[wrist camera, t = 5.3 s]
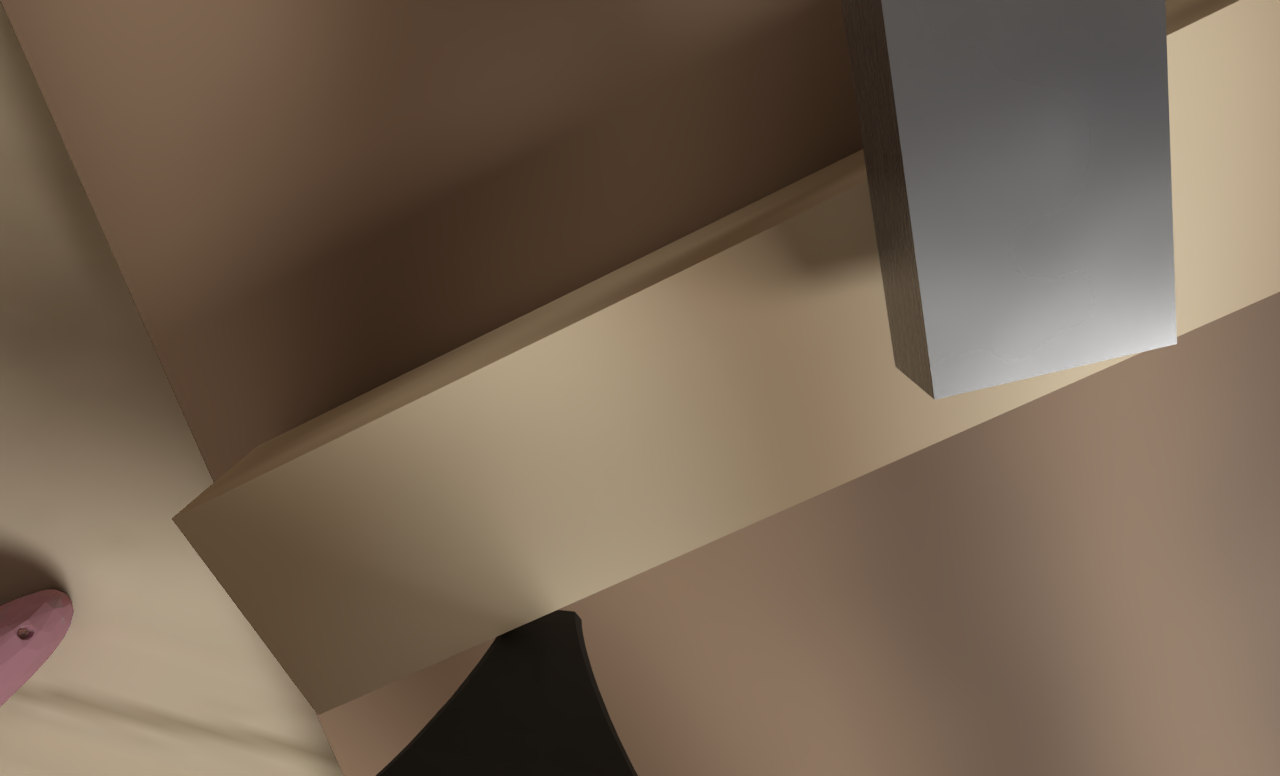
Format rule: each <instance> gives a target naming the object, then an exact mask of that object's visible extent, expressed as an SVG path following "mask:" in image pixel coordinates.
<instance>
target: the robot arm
mask: <svg viewBox="0 0 1280 776" xmlns="http://www.w3.org/2000/svg"><path fill="white" fill-rule="evenodd" d="M376 776H638V775H637V773H636V771H635V769H634V767H633V765H632V763H631V761H630V759H629V757H628V755H627V753H626V751H625V749H624V747H623V745H622V743H621V741H620V739H619V737H618V734H617V732H616V730H615V728H614V725H613V723H612V721H611V719H610V716H609V714H608V711H607V708H606V706H605V703H604V701H603V698H602V696H601V693H600V691H599V688H598V685H597V682H596V680H595V677H594V674H593V671H592V667H591V664H590V661H589V657H588V654H587V650H586V646H585V641H584V637H583V630H582V619H581V618H580V617H579V616H578V615H577V613H576V612H575V611H564V610H556V611H554V612H551V613H549V614H547V615H545V616H542V617H540V618H538V619H536V620H533V621H531V622H529V623H526V624H524V625H522V626H520V627H517V628H515V629H513V630H511V631H508V632H506V633H504V634H501V635H499V636H497V637H496V638H495V640H494V641H493V643H492V644H491V646H490V647H489V649H488V650H487V651H486V653H485V654H484V656H483V657H482V658H481V660H480V661H479V663H478V664H477V665H476V666H475V668H474V669H473V670H472V671H471V673H470V674H469V675H468V677H467V678H466V679H465V680H464V682H463V683H462V684H461V685H460V687H459V688H458V689H457V690H456V692H455V693H454V694H453V695H452V697H451V698H450V699H449V700H448V701H447V702H446V704H445V705H444V706H443V707H442V708H441V709H440V710H439V711H438V712H437V713H436V715H435V716H434V717H433V718H432V719H431V720H430V721H429V722H428V723H427V724H426V726H425V727H424V728H423V729H422V730H421V731H420V732H419V733H418V734H417V735H416V737H415V738H414V739H413V740H412V741H411V742H410V743H409V744H408V745H407V746H406V747H405V748H404V749H403V750H402V751H401V752H400V753H399V754H398V755H397V756H396V757H395V758H394V759H393V760H392V761H391V762H390V763H389V764H388V765H387V766H385V767H384V768H383V769H382V770H381V771H380V772H379V773H378V774H377V775H376Z"/></svg>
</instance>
